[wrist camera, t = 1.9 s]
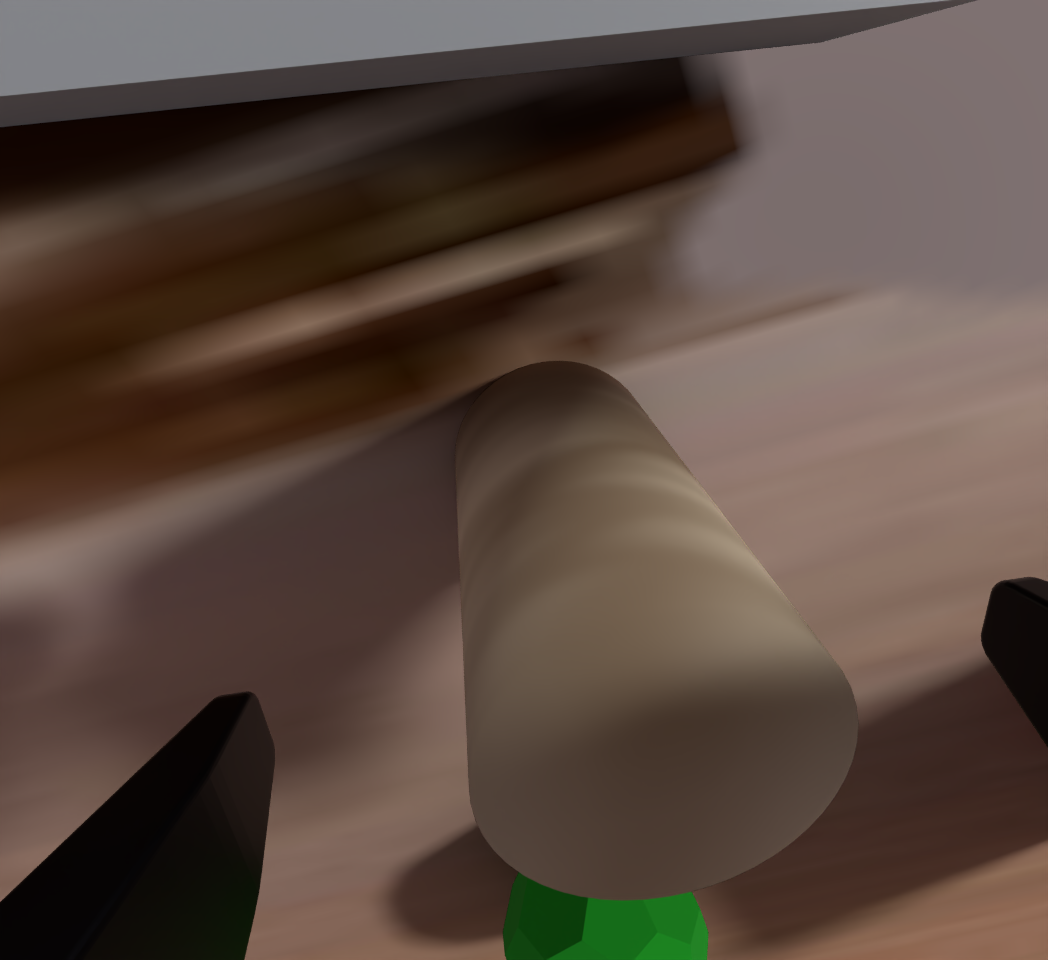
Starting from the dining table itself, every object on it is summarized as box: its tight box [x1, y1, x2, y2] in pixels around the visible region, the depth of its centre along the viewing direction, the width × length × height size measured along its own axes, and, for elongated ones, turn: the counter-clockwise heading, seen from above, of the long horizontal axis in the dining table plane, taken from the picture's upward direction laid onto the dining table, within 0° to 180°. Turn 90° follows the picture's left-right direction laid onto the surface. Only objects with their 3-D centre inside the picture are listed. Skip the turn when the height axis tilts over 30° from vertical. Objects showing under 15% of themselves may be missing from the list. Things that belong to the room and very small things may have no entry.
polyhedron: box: [503, 872, 708, 960], centre depth 17 cm, size 5×5×5 cm
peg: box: [455, 361, 858, 900], centre depth 11 cm, size 4×4×8 cm
